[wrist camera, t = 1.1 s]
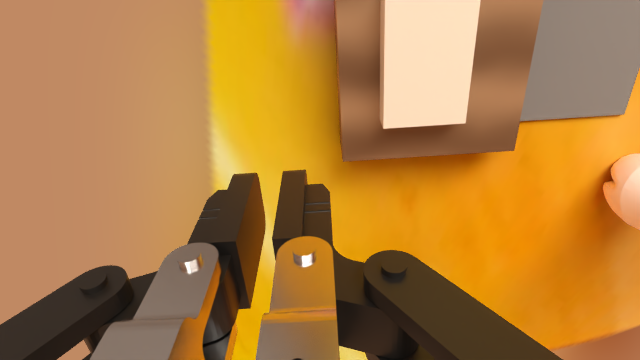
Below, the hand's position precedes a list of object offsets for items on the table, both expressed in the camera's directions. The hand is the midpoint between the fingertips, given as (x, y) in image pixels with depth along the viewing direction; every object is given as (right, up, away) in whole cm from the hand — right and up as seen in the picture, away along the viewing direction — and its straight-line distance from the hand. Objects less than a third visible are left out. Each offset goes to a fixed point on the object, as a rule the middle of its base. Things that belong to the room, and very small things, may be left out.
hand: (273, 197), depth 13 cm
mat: (+22, +13, +18) cm, 31 cm away
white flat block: (+9, +9, +15) cm, 20 cm away
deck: (+10, +11, +19) cm, 24 cm away
